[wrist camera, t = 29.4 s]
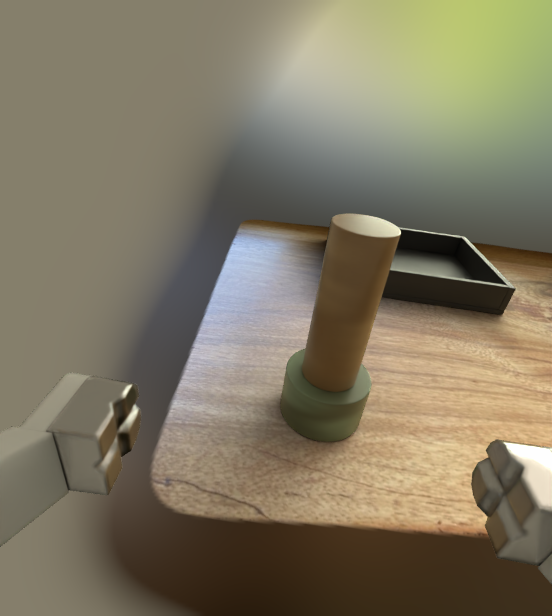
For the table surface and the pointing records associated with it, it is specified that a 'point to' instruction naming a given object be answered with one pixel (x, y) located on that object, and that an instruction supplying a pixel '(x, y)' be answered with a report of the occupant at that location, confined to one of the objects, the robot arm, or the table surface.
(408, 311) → the table surface
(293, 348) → the table surface
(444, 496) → the table surface
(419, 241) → the pan
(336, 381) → the tan cylinder
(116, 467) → the robot arm
